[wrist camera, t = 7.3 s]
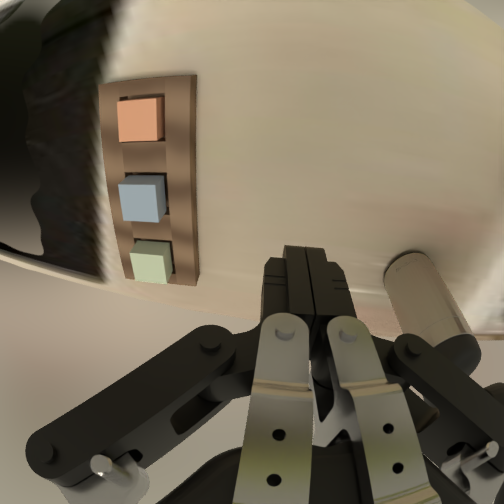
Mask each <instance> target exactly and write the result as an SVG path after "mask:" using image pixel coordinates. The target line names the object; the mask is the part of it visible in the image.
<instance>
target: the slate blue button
mask: <svg viewBox="0 0 504 504" xmlns="http://www.w3.org/2000/svg"><path fill="white" fill-rule="evenodd" d="M118 187H119V195H120V202H121V208H122V214H123V221H141V222H158V223H159V222H160V220H161V218H162V217H163V215H164V214H165V212H166V199H165V185H164V176H160V175H129V176H127V177H126V178H125V179H124V180H123V181H122V182H120V183H119V184H118Z"/></svg>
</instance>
